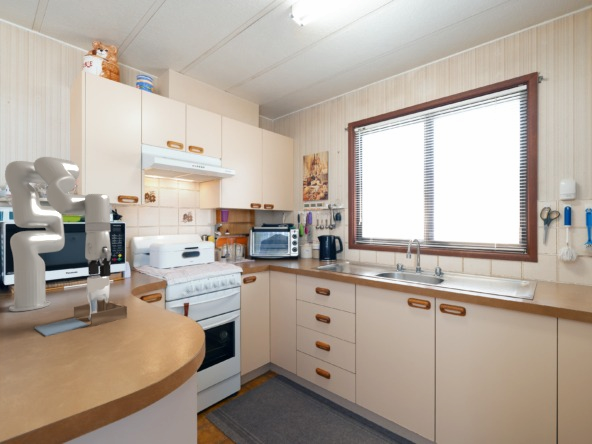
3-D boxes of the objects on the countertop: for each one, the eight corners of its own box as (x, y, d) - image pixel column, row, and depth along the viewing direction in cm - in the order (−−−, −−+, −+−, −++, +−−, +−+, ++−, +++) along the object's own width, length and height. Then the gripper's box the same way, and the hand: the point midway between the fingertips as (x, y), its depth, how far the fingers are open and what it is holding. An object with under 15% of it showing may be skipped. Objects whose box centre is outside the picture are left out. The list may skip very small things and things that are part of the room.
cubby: (74, 317, 106) (73, 306, 106) (107, 310, 115) (107, 300, 115) (92, 326, 96) (91, 314, 96) (126, 317, 105) (126, 306, 105)
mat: (34, 328, 95) (34, 327, 95) (74, 319, 104) (74, 318, 104) (45, 336, 88) (45, 335, 88) (87, 325, 97) (87, 324, 97)
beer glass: (114, 316, 107) (113, 275, 107) (94, 322, 101) (94, 279, 101) (102, 314, 110) (102, 274, 110) (82, 319, 103) (82, 277, 103)
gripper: (76, 229, 107) (77, 275, 107) (96, 228, 97) (97, 279, 97) (99, 228, 113) (100, 272, 113) (120, 227, 103) (121, 275, 103)
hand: (99, 275), depth 105 cm, fingers open, 9 cm apart
